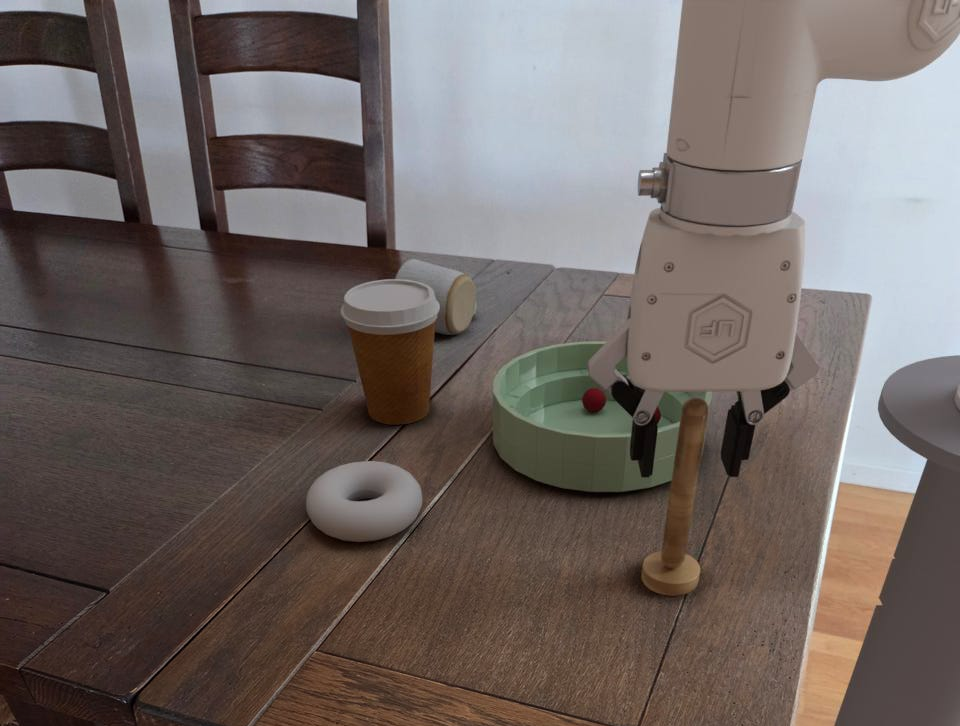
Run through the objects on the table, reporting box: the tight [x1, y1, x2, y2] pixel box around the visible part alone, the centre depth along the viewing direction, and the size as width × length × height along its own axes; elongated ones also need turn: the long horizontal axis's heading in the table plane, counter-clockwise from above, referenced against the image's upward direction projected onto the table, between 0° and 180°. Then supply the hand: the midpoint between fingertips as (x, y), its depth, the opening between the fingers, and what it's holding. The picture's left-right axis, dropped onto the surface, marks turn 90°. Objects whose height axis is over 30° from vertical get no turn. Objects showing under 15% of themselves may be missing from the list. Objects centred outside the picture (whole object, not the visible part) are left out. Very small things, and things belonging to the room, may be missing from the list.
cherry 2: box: [654, 407, 661, 424], centre depth 87 cm, size 2×2×2 cm
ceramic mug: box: [394, 258, 478, 336], centre depth 107 cm, size 11×8×8 cm
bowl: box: [492, 340, 714, 493], centre depth 84 cm, size 20×20×6 cm
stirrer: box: [640, 397, 709, 597], centre depth 65 cm, size 4×4×15 cm
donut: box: [305, 460, 423, 543], centre depth 76 cm, size 10×3×10 cm
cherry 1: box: [582, 388, 606, 412], centre depth 89 cm, size 2×2×2 cm
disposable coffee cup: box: [340, 278, 440, 426], centre depth 88 cm, size 10×10×12 cm
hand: (686, 465), depth 63 cm, fingers open, 5 cm apart
